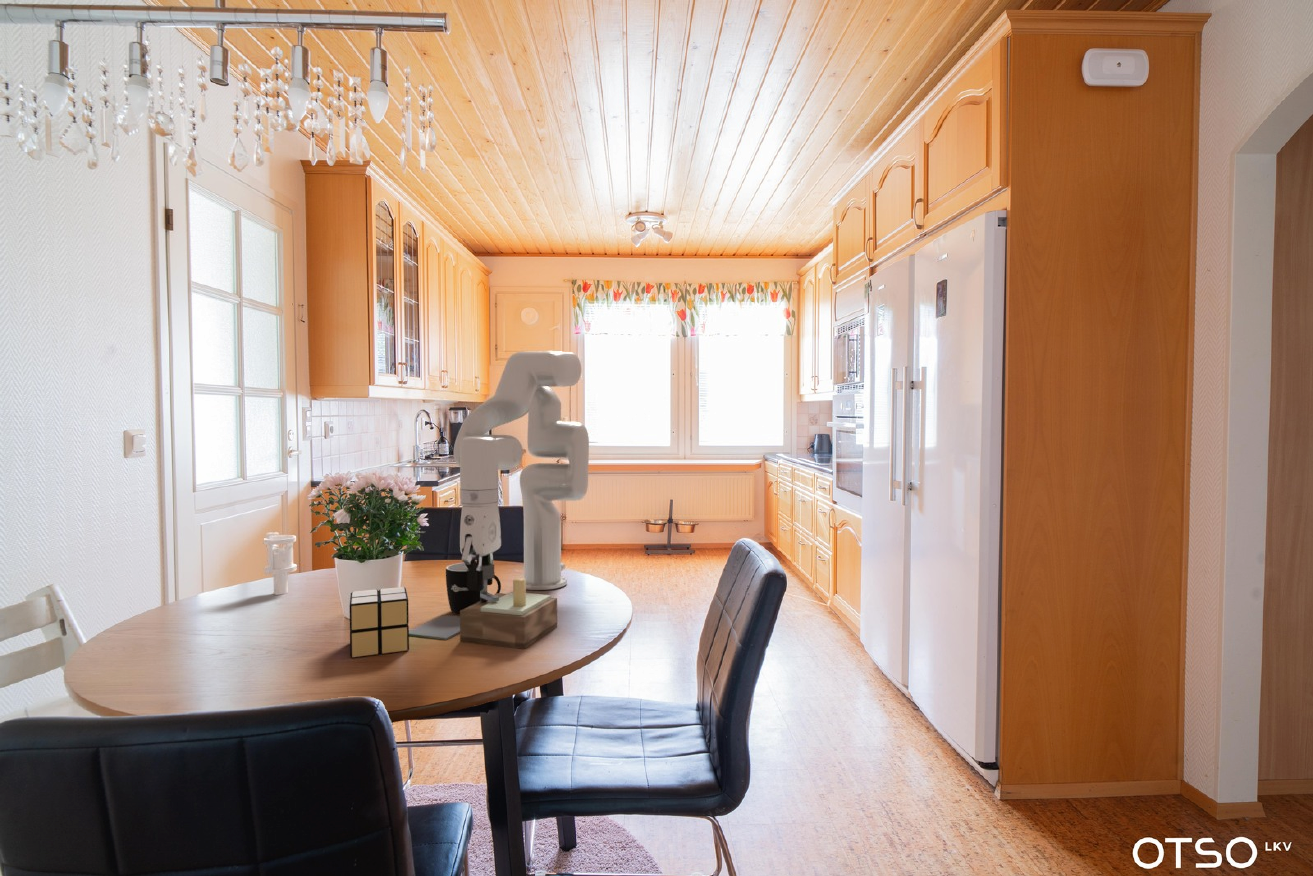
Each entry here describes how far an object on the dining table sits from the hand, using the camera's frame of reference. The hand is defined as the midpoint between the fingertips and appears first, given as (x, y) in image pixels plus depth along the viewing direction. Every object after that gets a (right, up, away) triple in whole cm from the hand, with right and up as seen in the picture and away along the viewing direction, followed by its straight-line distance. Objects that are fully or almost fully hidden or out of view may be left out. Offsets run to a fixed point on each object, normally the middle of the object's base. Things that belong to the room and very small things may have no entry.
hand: (479, 586), depth 137 cm
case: (+7, -9, -1) cm, 11 cm away
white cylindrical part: (-57, -8, +30) cm, 65 cm away
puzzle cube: (-17, -10, -9) cm, 21 cm away
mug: (-5, -9, +15) cm, 18 cm away
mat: (-8, -9, +2) cm, 12 cm away
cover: (+8, -3, -2) cm, 9 cm away
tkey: (+2, -3, -1) cm, 4 cm away
